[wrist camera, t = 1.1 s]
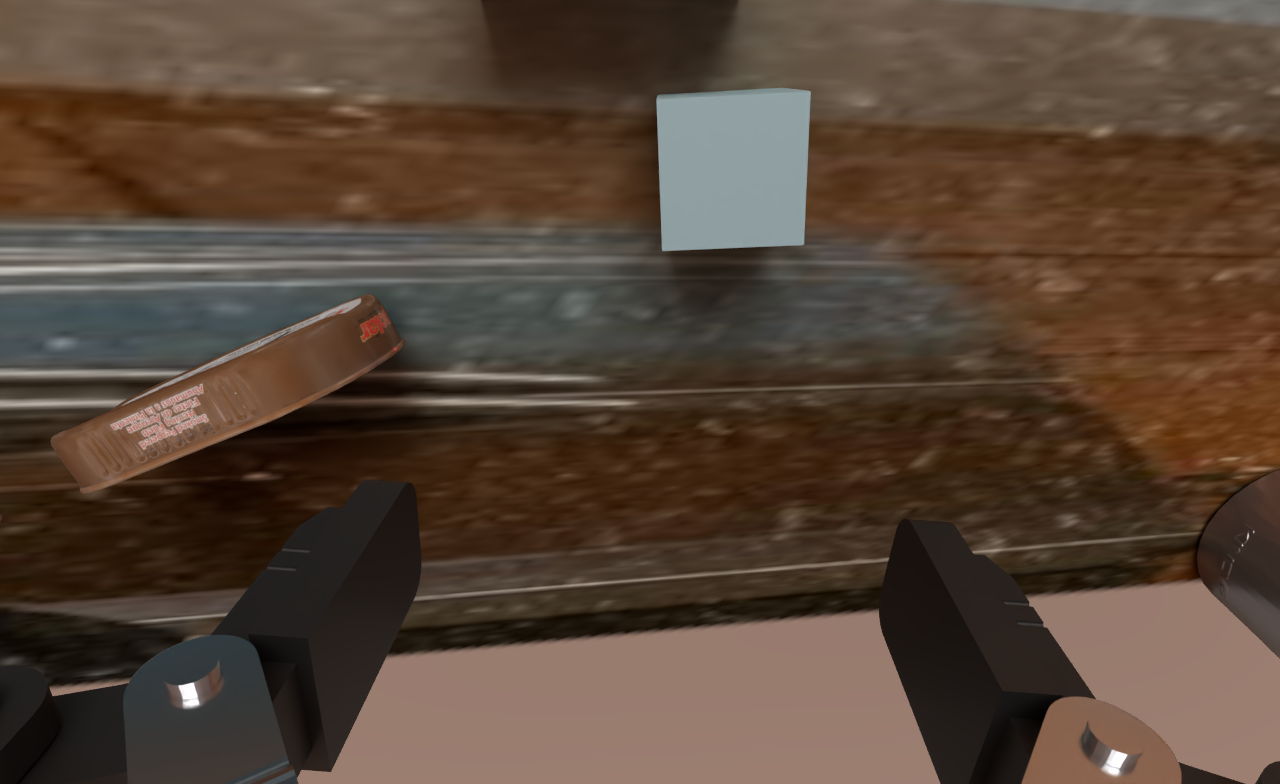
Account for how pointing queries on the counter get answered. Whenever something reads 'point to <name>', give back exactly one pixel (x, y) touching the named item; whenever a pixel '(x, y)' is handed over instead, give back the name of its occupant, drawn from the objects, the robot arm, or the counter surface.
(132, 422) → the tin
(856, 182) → the counter surface
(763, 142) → the blue-gray block
